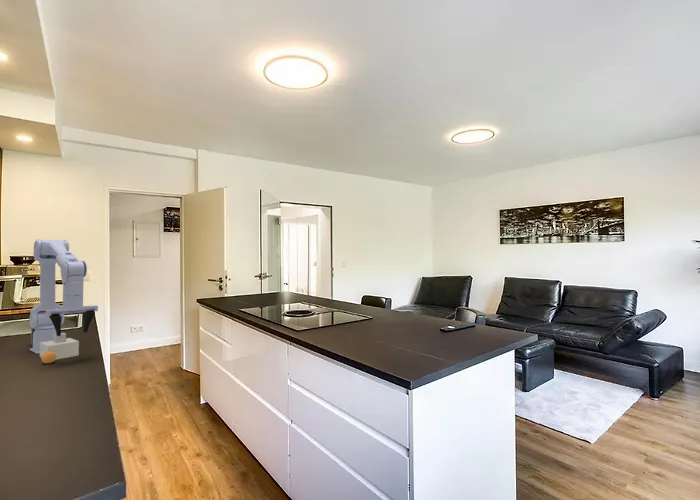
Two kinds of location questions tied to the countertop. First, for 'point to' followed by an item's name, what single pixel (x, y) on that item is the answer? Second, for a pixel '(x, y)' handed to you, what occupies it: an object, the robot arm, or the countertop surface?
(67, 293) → the robot arm
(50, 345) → the grey knobbed block
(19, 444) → the countertop surface
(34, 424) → the countertop surface
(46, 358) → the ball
